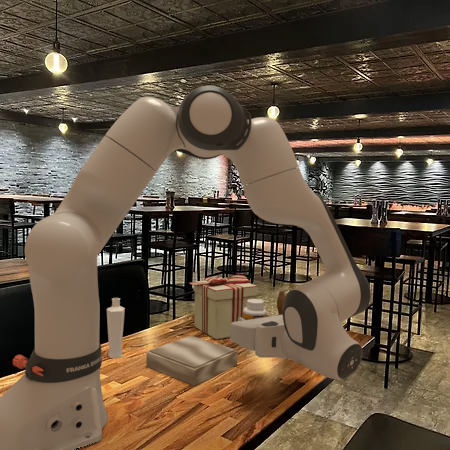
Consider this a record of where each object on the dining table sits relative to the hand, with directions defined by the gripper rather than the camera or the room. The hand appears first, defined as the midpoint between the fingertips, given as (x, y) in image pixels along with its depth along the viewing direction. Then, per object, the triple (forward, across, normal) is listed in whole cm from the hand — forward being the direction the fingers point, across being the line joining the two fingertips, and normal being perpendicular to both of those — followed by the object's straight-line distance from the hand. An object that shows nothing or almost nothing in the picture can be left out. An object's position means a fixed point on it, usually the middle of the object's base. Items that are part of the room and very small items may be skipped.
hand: (252, 318), depth 103 cm
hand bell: (+12, -20, +14) cm, 27 cm away
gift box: (+32, -13, +14) cm, 38 cm away
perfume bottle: (+27, +23, +14) cm, 39 cm away
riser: (+12, +9, +14) cm, 20 cm away
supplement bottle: (-1, 0, +6) cm, 6 cm away
